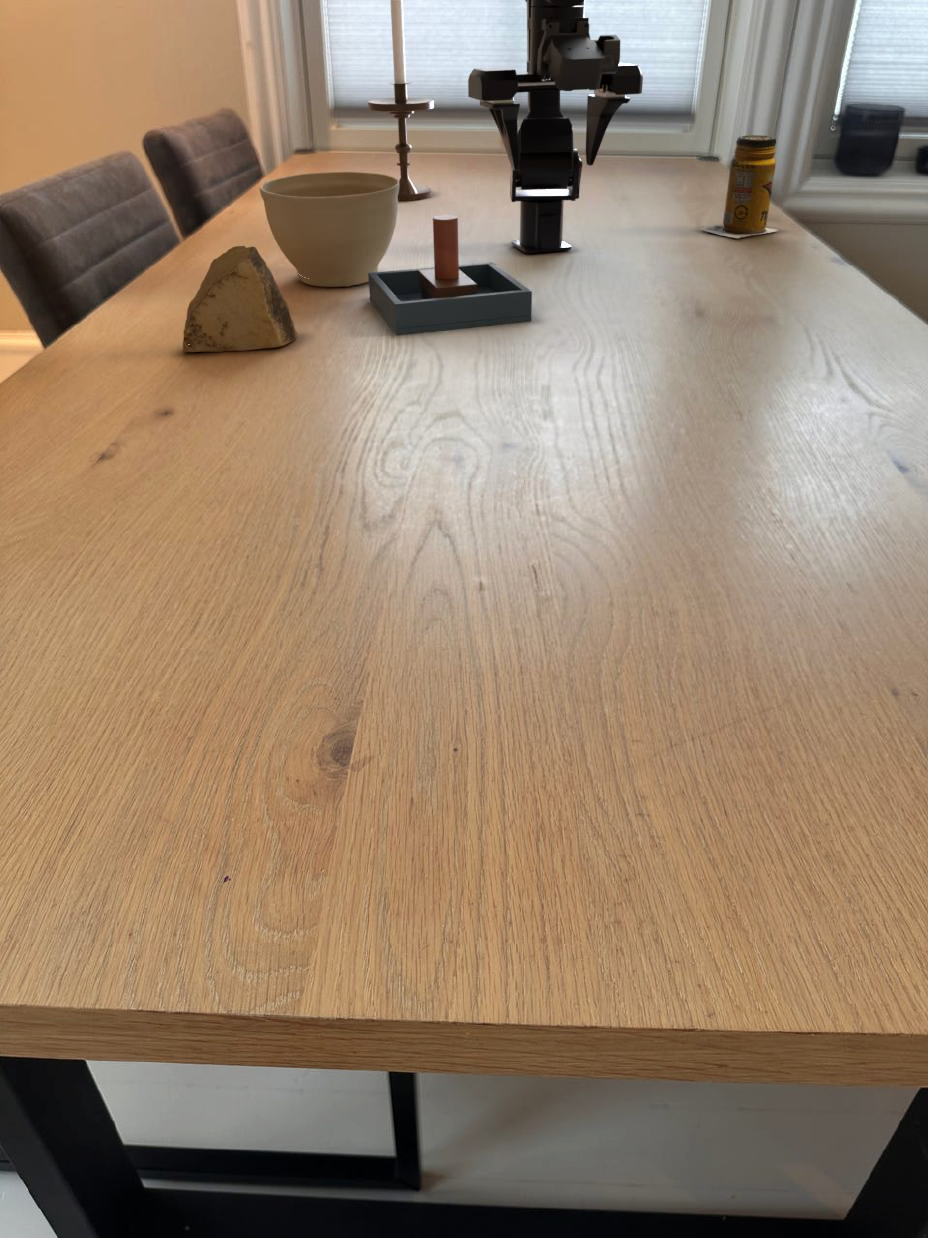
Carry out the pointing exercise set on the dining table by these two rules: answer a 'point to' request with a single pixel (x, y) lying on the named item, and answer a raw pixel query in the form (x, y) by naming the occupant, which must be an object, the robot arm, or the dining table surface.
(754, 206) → the condiment
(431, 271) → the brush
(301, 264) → the planter bowl
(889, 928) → the dining table surface
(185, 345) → the rock
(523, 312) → the tray
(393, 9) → the candlestick
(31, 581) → the dining table surface
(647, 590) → the dining table surface
